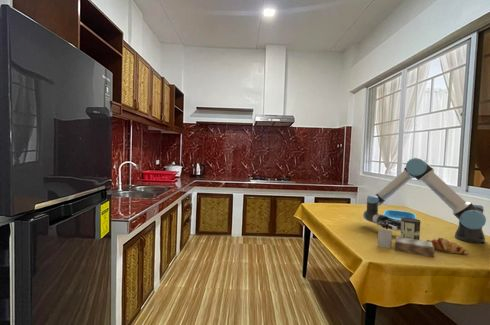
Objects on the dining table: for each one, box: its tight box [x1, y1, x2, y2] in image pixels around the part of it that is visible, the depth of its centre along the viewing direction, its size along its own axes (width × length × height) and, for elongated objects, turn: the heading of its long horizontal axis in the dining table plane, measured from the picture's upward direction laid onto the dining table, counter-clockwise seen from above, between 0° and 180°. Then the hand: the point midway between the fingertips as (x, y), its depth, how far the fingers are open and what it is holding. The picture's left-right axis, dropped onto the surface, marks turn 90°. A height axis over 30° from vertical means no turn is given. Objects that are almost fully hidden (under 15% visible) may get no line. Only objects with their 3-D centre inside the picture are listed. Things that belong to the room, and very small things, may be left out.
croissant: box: [426, 237, 470, 255], centre depth 152 cm, size 21×10×8 cm, turn 50°
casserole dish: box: [382, 209, 417, 228], centre depth 211 cm, size 37×22×7 cm, turn 149°
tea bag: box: [376, 228, 393, 249], centre depth 155 cm, size 4×7×10 cm, turn 52°
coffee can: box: [400, 218, 421, 240], centre depth 164 cm, size 10×10×14 cm
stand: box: [394, 236, 435, 258], centre depth 150 cm, size 18×11×5 cm, turn 59°
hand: (405, 228), depth 167 cm, fingers open, 13 cm apart
